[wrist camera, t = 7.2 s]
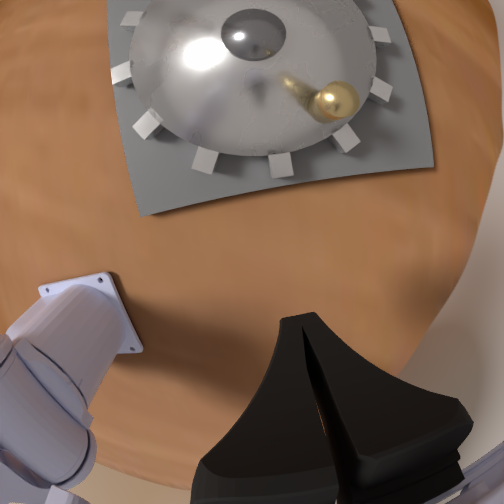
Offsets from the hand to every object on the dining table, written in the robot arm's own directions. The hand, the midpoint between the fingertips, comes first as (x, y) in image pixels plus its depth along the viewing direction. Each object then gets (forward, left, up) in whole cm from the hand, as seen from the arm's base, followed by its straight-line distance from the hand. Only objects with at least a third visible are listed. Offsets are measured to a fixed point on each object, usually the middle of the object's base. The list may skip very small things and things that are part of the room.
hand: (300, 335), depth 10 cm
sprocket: (+1, +14, -8) cm, 16 cm away
